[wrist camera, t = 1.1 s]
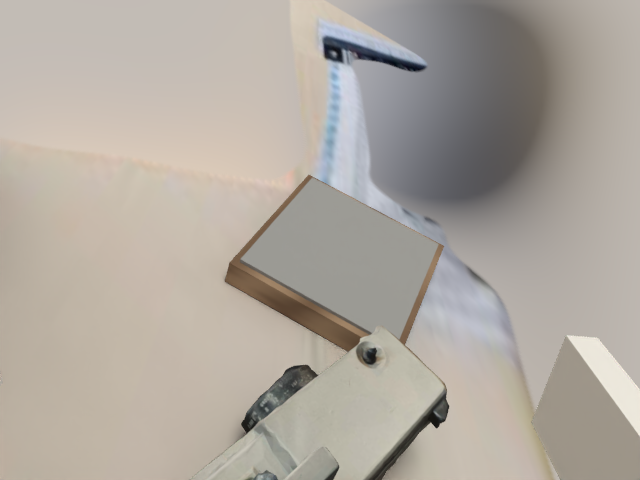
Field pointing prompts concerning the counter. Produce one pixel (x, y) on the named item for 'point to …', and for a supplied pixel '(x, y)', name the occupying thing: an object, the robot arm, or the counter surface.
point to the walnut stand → (337, 266)
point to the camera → (337, 418)
